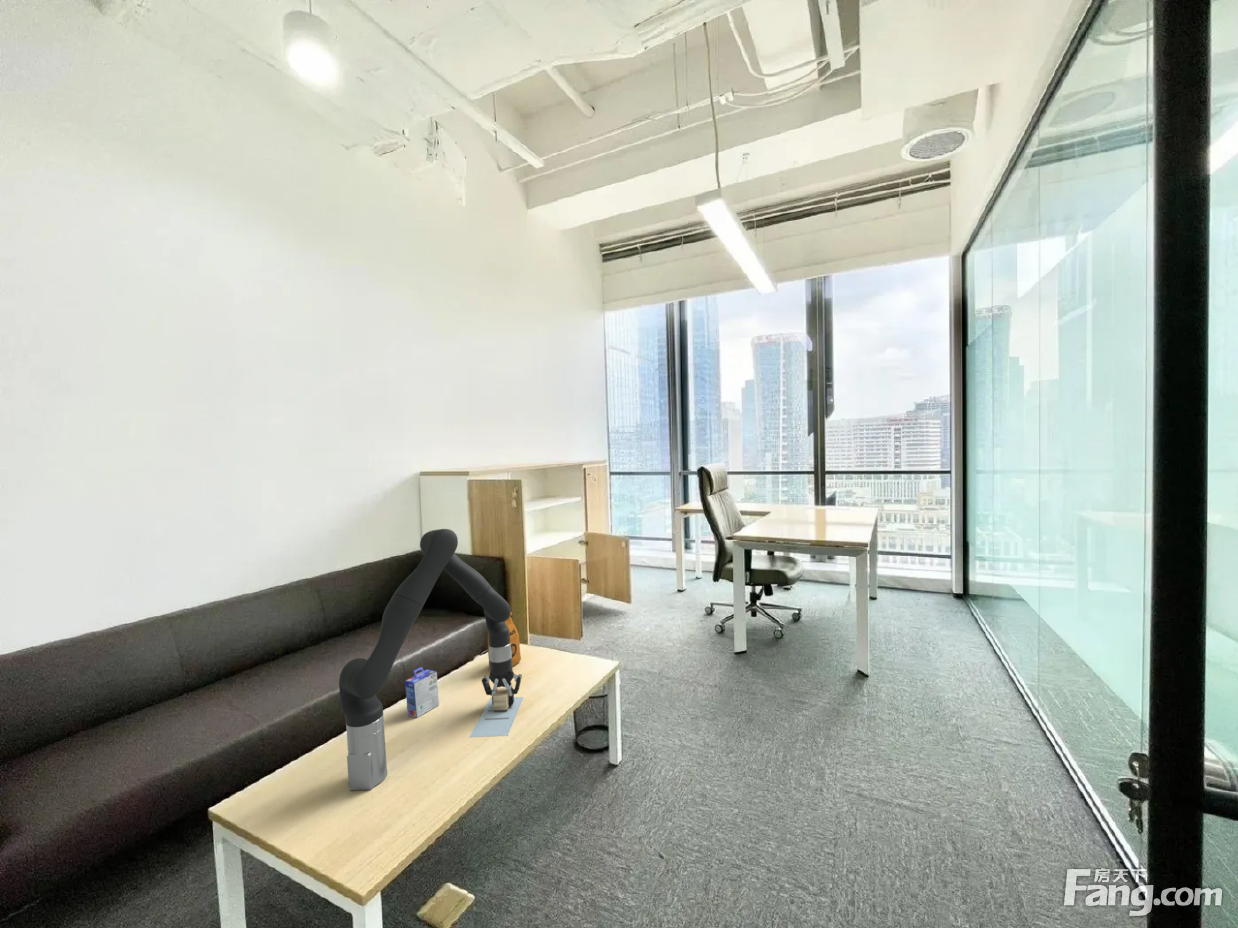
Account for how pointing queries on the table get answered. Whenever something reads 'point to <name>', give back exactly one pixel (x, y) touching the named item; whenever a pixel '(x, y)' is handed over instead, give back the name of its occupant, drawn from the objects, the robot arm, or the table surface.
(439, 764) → the table surface
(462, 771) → the table surface
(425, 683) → the ink cartridge box
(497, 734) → the board
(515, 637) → the coffee package
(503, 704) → the block
